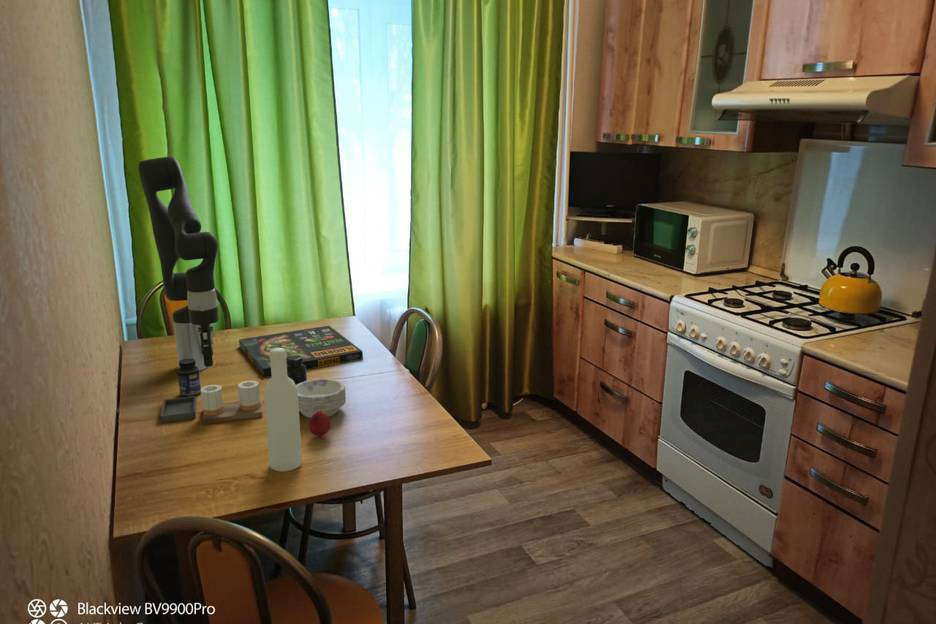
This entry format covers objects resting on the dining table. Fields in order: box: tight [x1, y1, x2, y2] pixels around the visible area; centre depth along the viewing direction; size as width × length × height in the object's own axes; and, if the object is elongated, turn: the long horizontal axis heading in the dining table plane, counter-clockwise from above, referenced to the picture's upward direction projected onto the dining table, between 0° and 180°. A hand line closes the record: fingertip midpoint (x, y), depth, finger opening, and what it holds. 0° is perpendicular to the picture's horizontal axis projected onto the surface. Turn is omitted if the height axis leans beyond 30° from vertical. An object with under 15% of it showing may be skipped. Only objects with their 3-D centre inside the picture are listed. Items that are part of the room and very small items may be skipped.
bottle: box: [263, 348, 303, 473], centre depth 160 cm, size 8×8×30 cm
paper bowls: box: [296, 378, 347, 419], centre depth 192 cm, size 15×15×8 cm
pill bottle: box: [176, 358, 202, 398], centre depth 203 cm, size 6×6×11 cm
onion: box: [308, 409, 332, 438], centre depth 177 cm, size 6×6×8 cm
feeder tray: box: [160, 396, 198, 424], centre depth 192 cm, size 12×9×2 cm
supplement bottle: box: [286, 355, 308, 385], centre depth 204 cm, size 7×7×12 cm
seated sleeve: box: [237, 380, 262, 411], centre depth 192 cm, size 6×6×7 cm
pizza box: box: [238, 325, 364, 378], centre depth 241 cm, size 35×35×4 cm
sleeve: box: [200, 384, 224, 415], centre depth 188 cm, size 6×6×7 cm
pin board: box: [201, 400, 263, 426], centre depth 190 cm, size 10×16×6 cm, turn 110°
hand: (209, 360), depth 185 cm, fingers open, 8 cm apart
